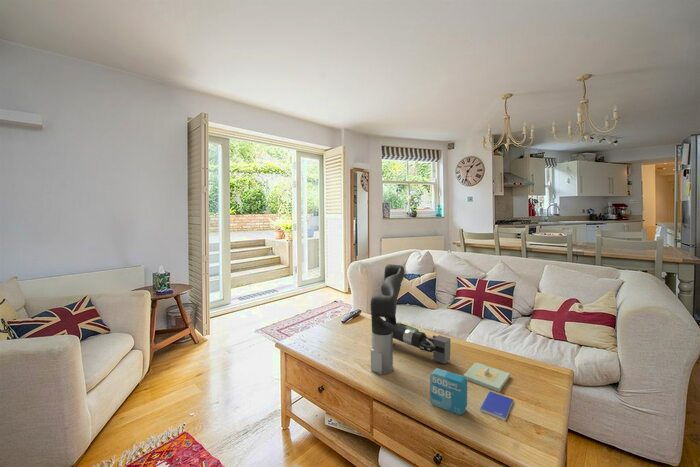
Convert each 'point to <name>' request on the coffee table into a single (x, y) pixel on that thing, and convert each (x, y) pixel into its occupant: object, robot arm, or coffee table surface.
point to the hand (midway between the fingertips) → (447, 348)
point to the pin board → (487, 376)
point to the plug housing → (442, 343)
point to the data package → (448, 391)
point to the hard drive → (496, 405)
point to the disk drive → (406, 326)
